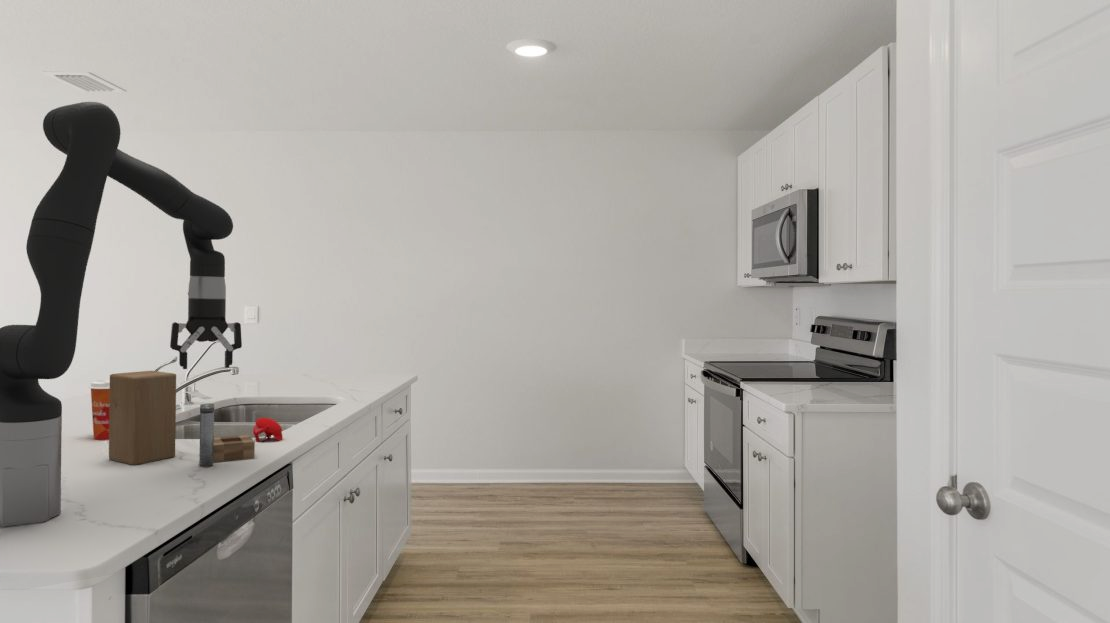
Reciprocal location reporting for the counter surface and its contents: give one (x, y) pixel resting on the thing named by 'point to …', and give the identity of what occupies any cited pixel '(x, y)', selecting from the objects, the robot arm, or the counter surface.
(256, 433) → the cap
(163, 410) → the wooden block
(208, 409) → the grey metal cylinder
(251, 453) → the checkered wooden holder
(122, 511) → the counter surface
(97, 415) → the coffee cup
